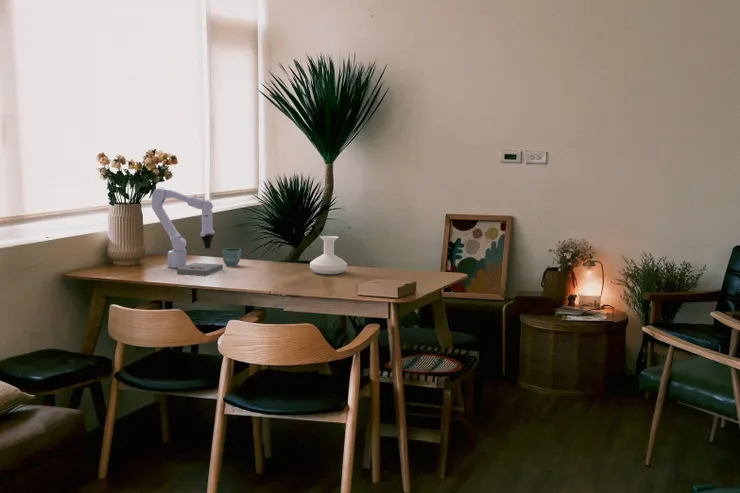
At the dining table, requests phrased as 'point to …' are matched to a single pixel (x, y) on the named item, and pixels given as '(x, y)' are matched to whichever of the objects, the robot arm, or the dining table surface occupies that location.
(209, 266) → the board
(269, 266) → the dining table surface
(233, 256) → the flower pot
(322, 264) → the white vase
